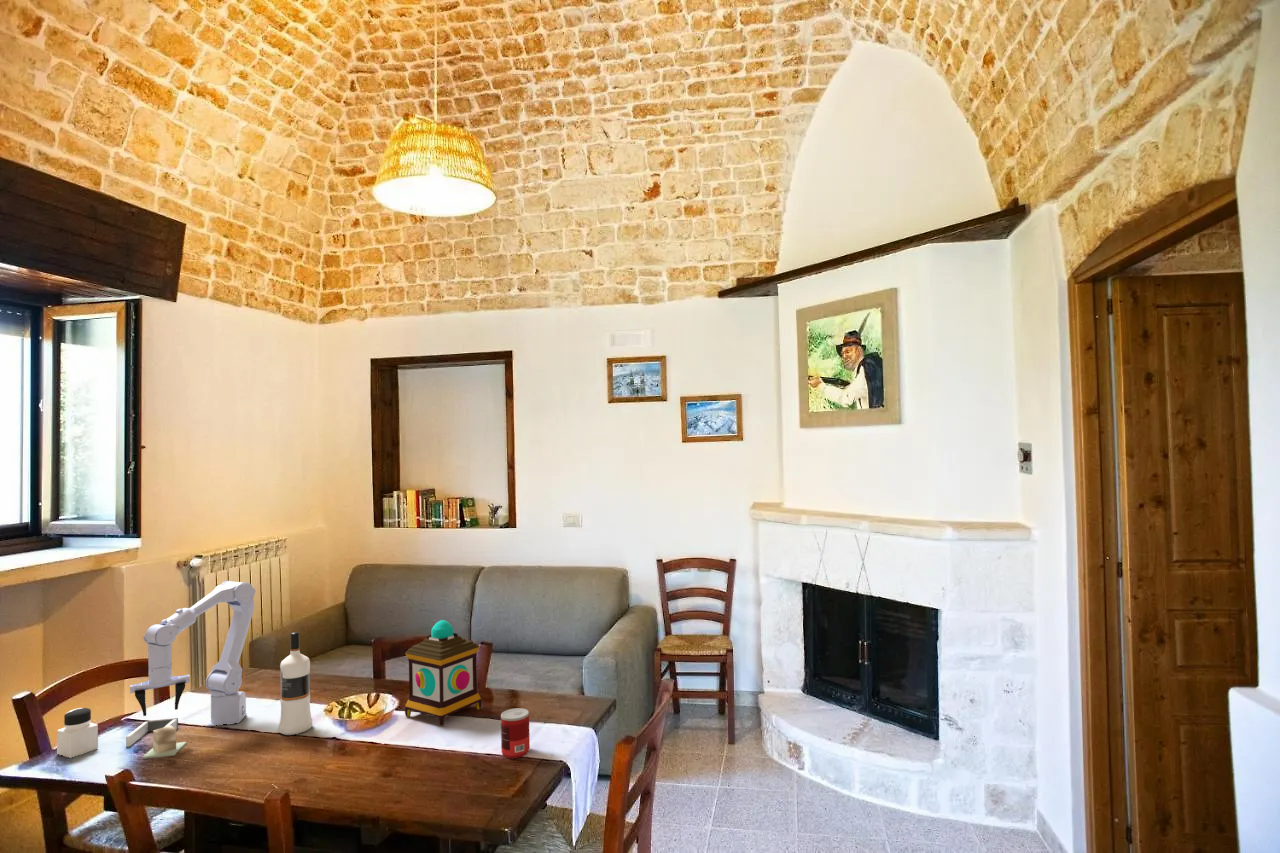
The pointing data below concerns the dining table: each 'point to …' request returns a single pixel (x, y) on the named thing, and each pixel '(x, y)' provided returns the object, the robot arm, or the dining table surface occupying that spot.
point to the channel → (149, 729)
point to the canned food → (515, 733)
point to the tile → (168, 753)
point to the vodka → (295, 691)
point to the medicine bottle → (77, 734)
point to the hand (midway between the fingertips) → (160, 711)
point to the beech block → (164, 739)
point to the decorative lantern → (442, 674)
